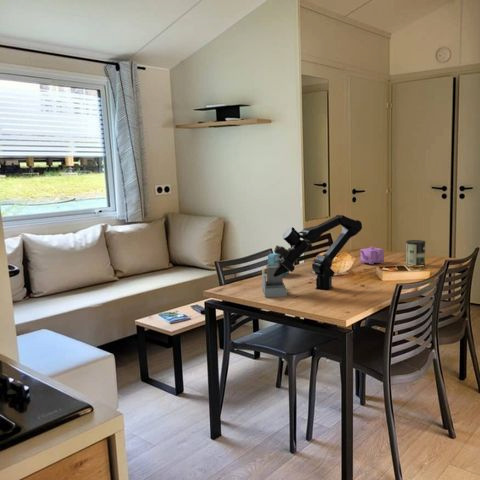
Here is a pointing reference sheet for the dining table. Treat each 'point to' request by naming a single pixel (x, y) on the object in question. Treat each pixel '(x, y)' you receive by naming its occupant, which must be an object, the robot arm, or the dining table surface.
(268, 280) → the grey rectangular block
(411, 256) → the coffee can
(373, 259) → the purple box
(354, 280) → the dining table surface
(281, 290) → the rack
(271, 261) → the data package
